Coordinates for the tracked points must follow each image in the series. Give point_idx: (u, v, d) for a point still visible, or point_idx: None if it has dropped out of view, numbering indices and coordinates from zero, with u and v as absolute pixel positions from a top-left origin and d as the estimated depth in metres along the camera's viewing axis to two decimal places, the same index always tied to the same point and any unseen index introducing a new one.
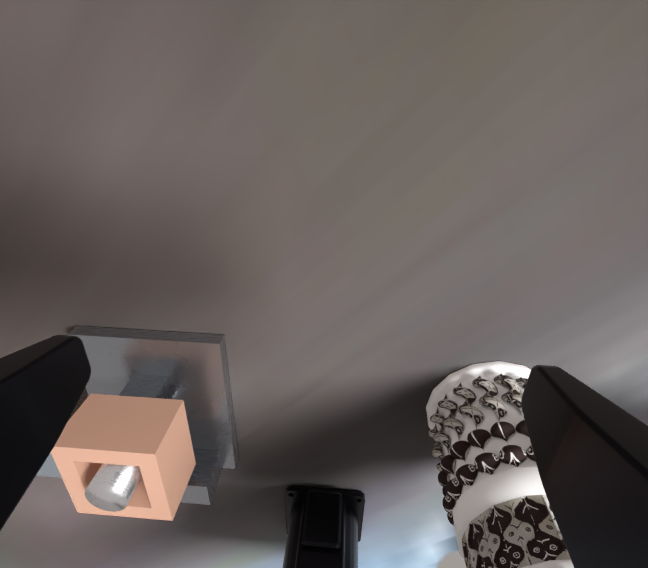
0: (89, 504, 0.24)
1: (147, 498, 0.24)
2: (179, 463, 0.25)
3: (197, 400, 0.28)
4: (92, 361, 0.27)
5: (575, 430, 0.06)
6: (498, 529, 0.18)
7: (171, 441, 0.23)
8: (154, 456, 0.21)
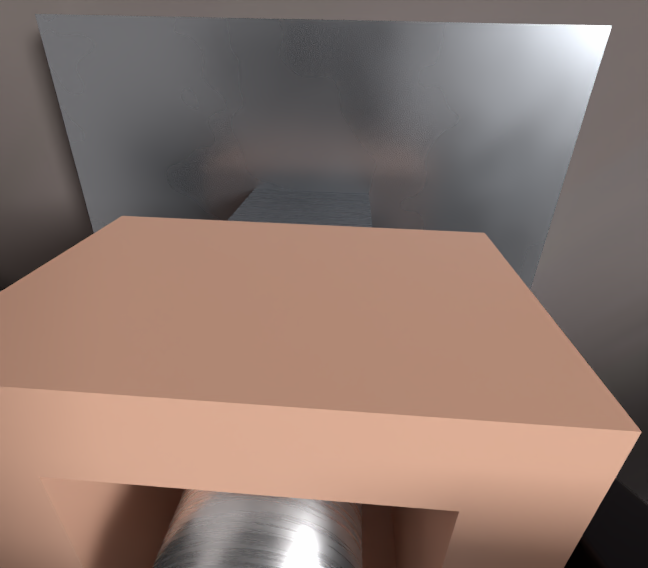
0: None
1: None
2: None
3: None
4: (122, 140, 0.08)
5: None
6: None
7: None
8: (623, 449, 0.03)
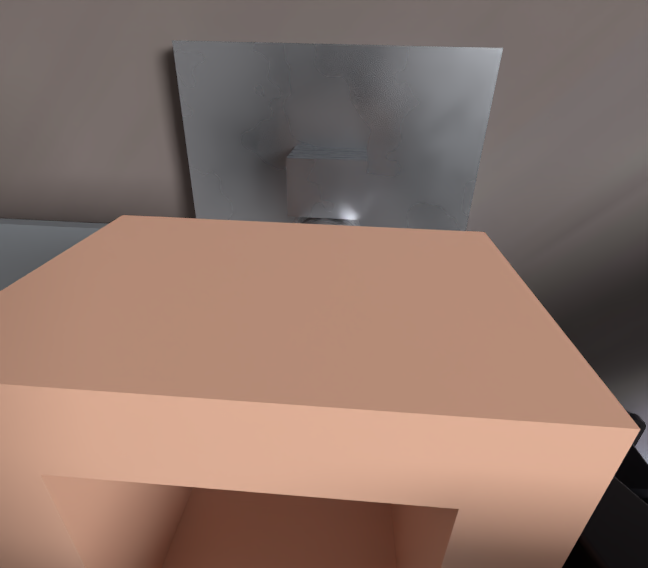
0: None
1: None
2: None
3: (410, 209, 0.14)
4: (215, 115, 0.13)
5: None
6: None
7: None
8: (622, 445, 0.03)
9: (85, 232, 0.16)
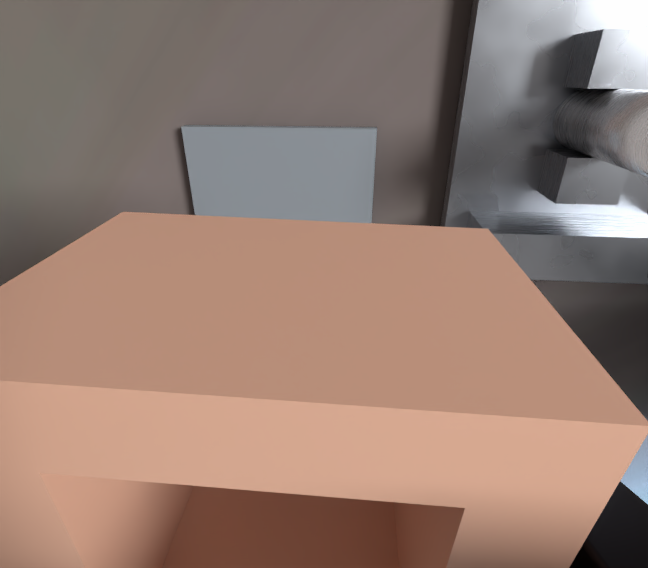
0: None
1: None
2: None
3: None
4: (509, 6, 0.15)
5: None
6: None
7: None
8: (634, 442, 0.03)
9: (346, 133, 0.18)
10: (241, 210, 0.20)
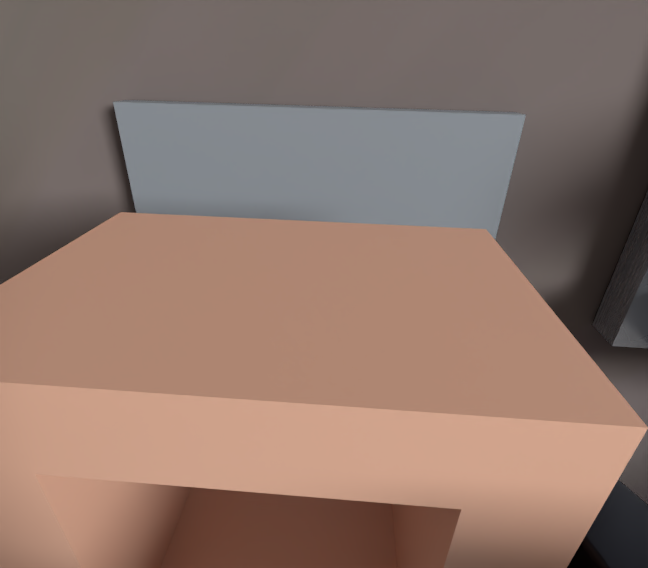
0: None
1: None
2: None
3: None
4: None
5: None
6: None
7: None
8: (629, 445, 0.03)
9: (460, 123, 0.09)
10: None
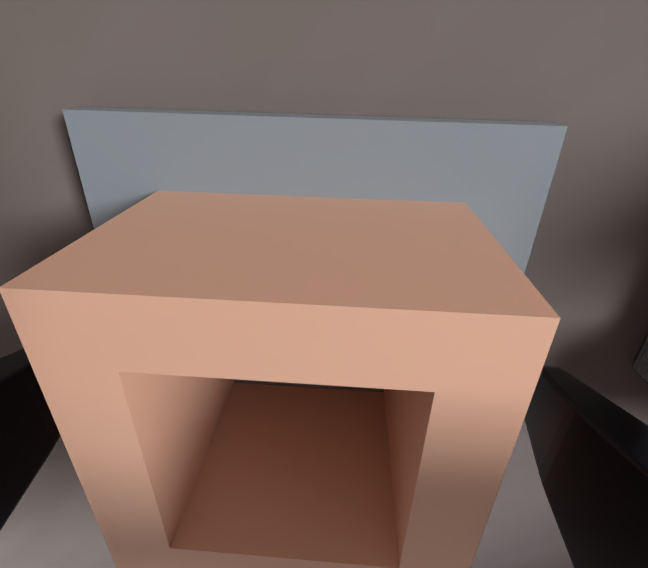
0: (165, 553, 0.07)
1: (365, 529, 0.07)
2: None
3: None
4: None
5: (575, 430, 0.06)
6: None
7: None
8: (548, 331, 0.04)
9: (486, 136, 0.07)
10: None
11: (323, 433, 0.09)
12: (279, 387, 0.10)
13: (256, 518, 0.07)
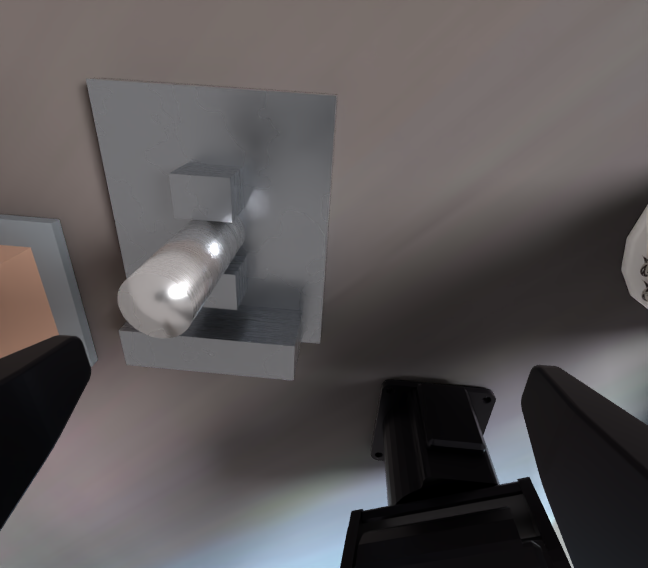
0: None
1: None
2: (23, 325, 0.20)
3: (282, 215, 0.18)
4: (123, 136, 0.17)
5: (575, 430, 0.06)
6: None
7: (3, 287, 0.19)
8: None
9: (26, 225, 0.20)
10: None
11: None
12: None
13: None
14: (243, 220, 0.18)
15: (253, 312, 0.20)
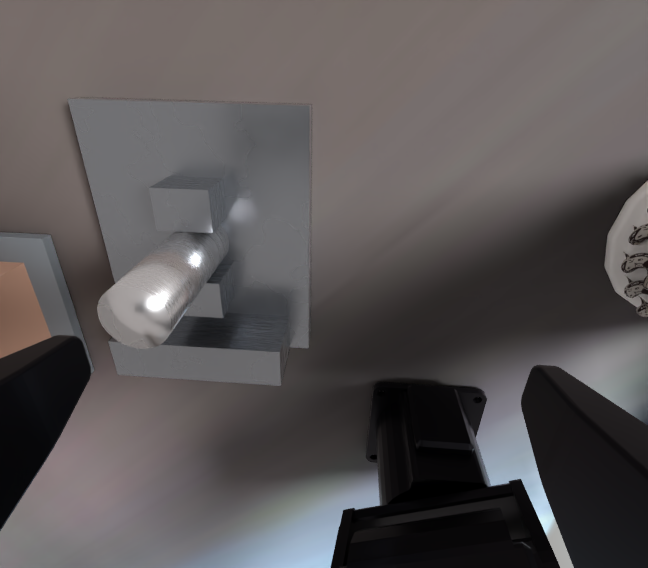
0: None
1: None
2: (18, 339, 0.21)
3: (264, 223, 0.18)
4: (106, 153, 0.17)
5: (575, 430, 0.06)
6: None
7: None
8: None
9: (18, 241, 0.20)
10: None
11: None
12: None
13: None
14: (226, 230, 0.19)
15: (240, 319, 0.20)
